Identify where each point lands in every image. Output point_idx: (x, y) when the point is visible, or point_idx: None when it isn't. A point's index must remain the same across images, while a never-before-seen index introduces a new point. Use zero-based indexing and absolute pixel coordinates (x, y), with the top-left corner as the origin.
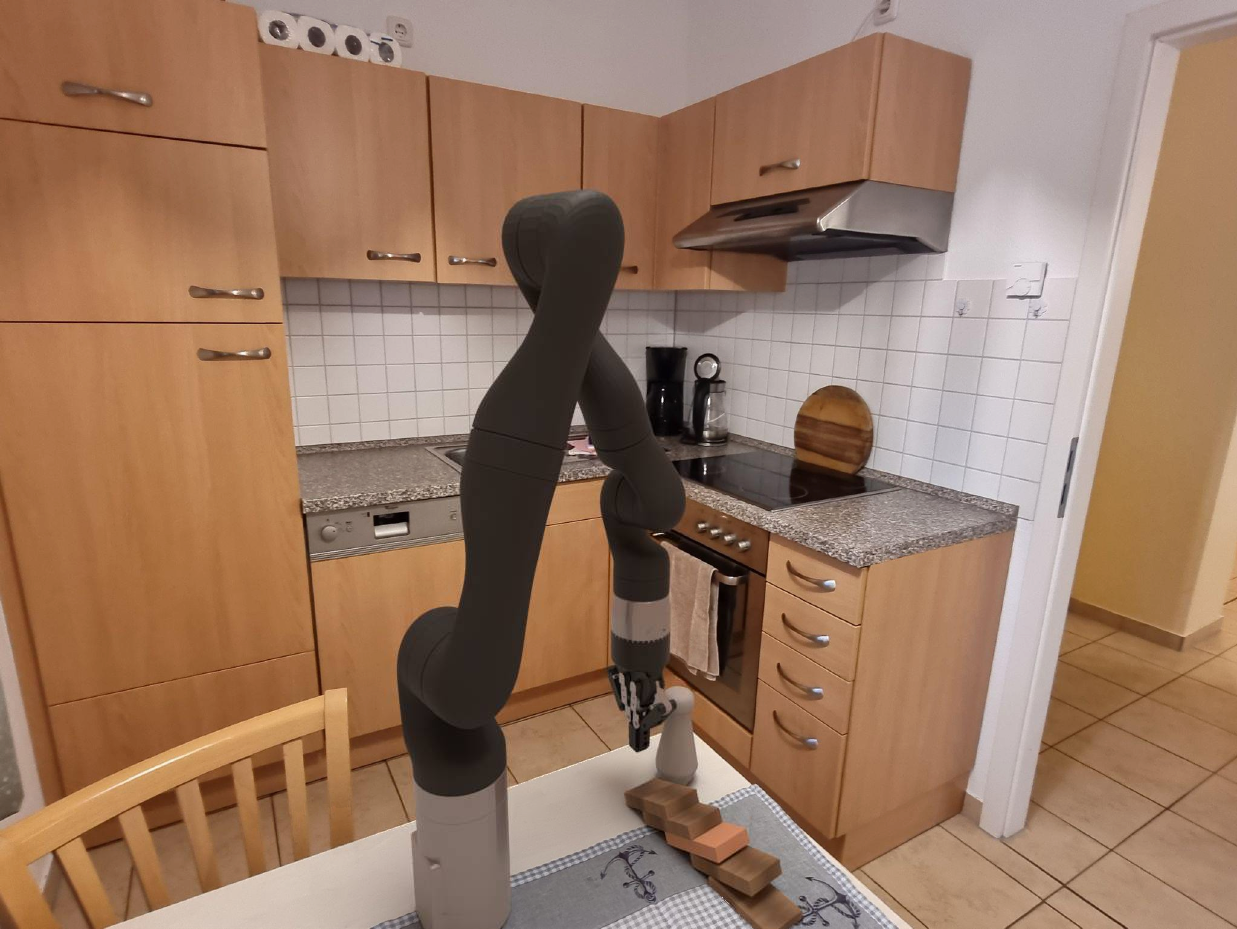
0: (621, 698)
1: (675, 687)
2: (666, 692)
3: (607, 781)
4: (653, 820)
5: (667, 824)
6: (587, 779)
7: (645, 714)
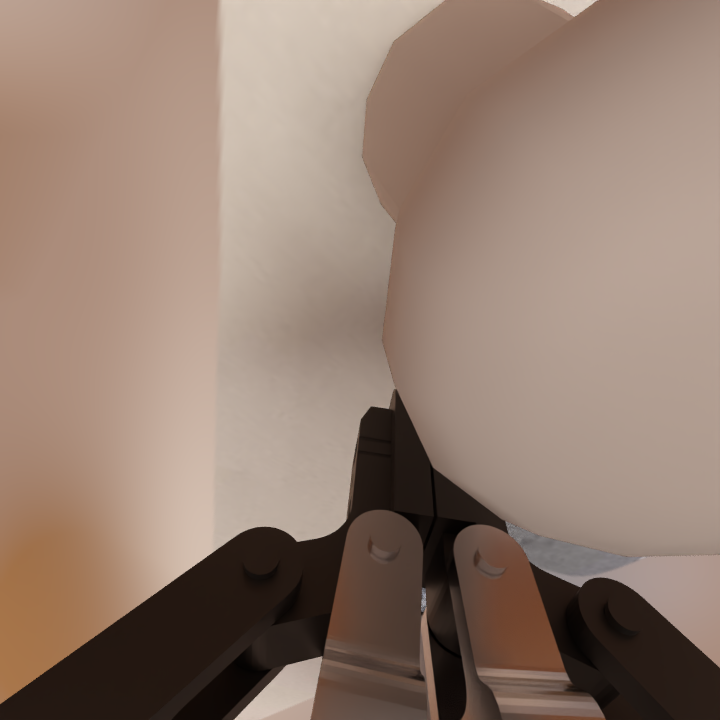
0: (235, 712)
1: (593, 335)
2: (516, 513)
3: (300, 339)
4: None
5: None
6: (255, 373)
7: (452, 590)
